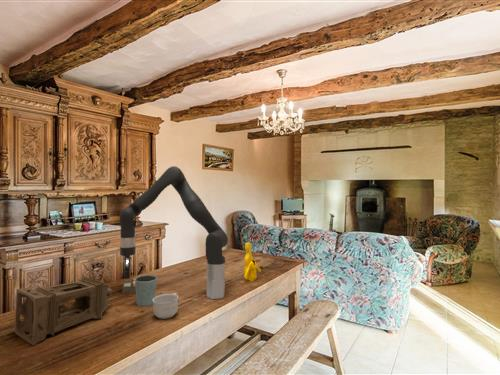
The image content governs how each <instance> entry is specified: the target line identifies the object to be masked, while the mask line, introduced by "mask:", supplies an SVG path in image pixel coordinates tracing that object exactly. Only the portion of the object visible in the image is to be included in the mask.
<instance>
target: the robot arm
mask: <svg viewBox="0 0 500 375" xmlns="http://www.w3.org/2000/svg"><path fill="white" fill-rule="evenodd" d="M170 185H171V186H172V188H174V190H175V191H176V192H177V193H178V195H179V196H180V199H181V201H182V204H183V205H184V207H185V209H186V211H187V213H188V214H189V216H190V217H191V218H192V219H193V220H194V222H195V221H196V222H197V223H198V224H199V225H201V226H202V227H203V228H204V229H205V230H206V232H207V233H208V234H207V235H206V238H205V246H204V247H205V257H206V258H205V259H206V297H207V298H208V299H211V300H216V299H217V300H218V299H224V297H225V289H226V288H225V283H226V256H224V255H223V248H225V247H226V246H227V245H228V243H229V242H228V241H229V239H228V235H227V234H226V232H225V231H224V230H223V228H222V227H221V226H220V225H219V224H218V223H217V221H216V220H215V219H214V217H213V215H212V214H211V212H210V211H209V209H208V208H207V206H206V205H205V203H204V202H203V200H202V199H201V198H200V197H199V195H198V193H196V192H195V191H194V190H193V188H191V186H190V184H189V182H188V180H187V178H186V176H185V174H184V173H183V171H182V169H180V167H178V166H173V165H172V166H170V167H168V168H167V169H166V170H165V171H164V172H163V173H162V174H161V175H160V177H159V178H158V179H157V180H156V181H155V182H154V183H153V184H152V185H151V186H150V187H149V188H148V189H146V191H144V192H143V193H141V194H140V195H139V196H138V197H136V199H134V200H133V202H131V204H129V205H128V206H127V207H125V208H123V209H122V210H121V211H120V213H119V224H120V225H119V226H120V240H119V255H120V256H122V257H123V268H124V279H125V280H130V278H131V267H132V260H133V259H132V257H133V256H134V255H135V254H136V229H135V228H136V227H135V218H136V217H138V215H140V214H141V212H143V211H144V210H145V209H147V208H148V207H149V206H151V205H152V204H153V203H154V202H155V201H156V200H157V198H158V197H159V195H161V193H162V192H163V191H164V190H165V189H166V188H167V187H169V186H170ZM131 256H132V257H131Z"/></svg>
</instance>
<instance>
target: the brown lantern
mask: <svg viewBox="0 0 500 375" xmlns="http://www.w3.org/2000/svg"><path fill="white" fill-rule="evenodd" d="M15 291H16V293H15V294H16V295H15V296H16V297H15V308H14V309H15V310H14V312H15V313H14V333H15V334H16V335H17V336H19V337H20V338H21V339H23V340H24V341H25V342H26V343H29V344H30V345H32V346H35V345H37V344H39V343H40V342H42V341H44V340H45V339H46V337H47V335H51V336H52V337H54V336H55V333H59V332H60V331H62V330H64V329H66V328H69V327H72V326H74V325H76V324H79V323H82V322H84V321H88V320H91V319H93V320H95V319H99V320H102V319H103V318H104V316H103V314H104V312H105V311H106V310H107V309H108V307H109V303H110V302H109V300H108V297H111V296H112V294H113V292H114V290H113V289H112V288H111V287H110V286H109V284H105V281H101V280H98V279H95V278H94V279H93V278H91V277H87V276H86V275H82V277H80V278H79V279H78V281H72V282H68V283H62V284H56V285H51V286H44V287H41V286H37V287H36V288H35V289H34V288H31V287H25V288H16V290H15ZM23 298H24V301H23V302H22V299H23ZM72 300H74V302H73V304H71V306H68V307H67V306H66V304H69V302H70V301H72ZM72 314H73V315H72ZM21 316H22V318H24V319H22V320H21Z"/></svg>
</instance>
